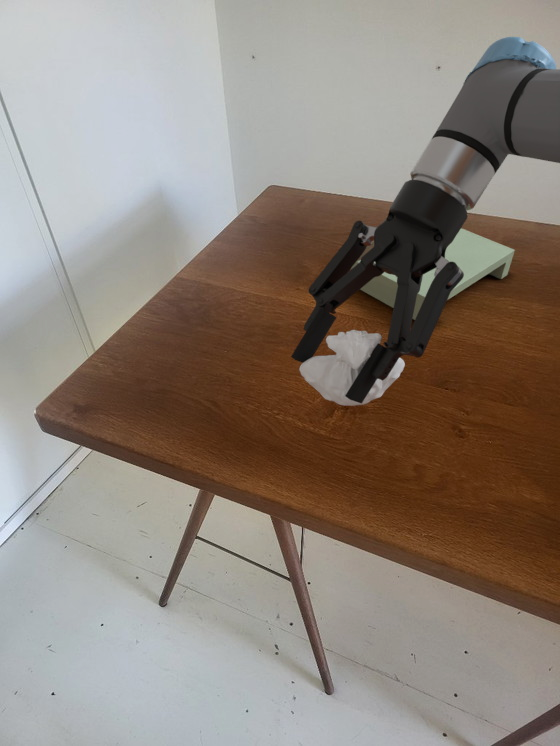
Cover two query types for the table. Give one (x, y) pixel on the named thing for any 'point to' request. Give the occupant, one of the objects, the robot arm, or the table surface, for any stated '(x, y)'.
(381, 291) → the shoe shelf
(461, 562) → the table surface
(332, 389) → the bust
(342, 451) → the table surface
